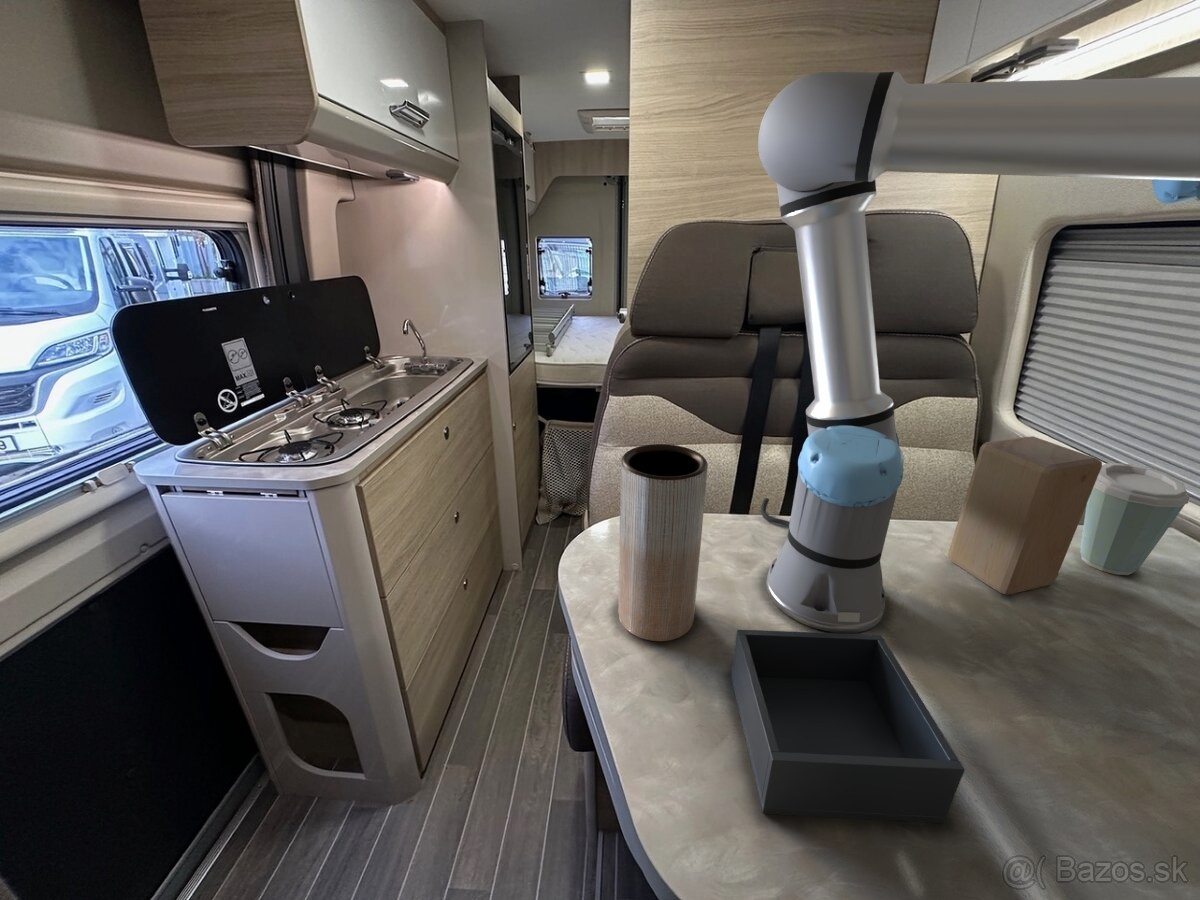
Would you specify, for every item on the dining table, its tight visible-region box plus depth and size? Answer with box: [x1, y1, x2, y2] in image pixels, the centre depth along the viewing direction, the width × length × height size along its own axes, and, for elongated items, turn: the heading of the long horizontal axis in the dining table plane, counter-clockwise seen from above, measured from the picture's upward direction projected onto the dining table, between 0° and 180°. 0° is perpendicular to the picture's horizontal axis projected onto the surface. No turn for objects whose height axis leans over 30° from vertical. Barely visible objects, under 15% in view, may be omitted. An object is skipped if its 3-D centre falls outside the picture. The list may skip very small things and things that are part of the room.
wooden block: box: [947, 436, 1103, 596], centre depth 76 cm, size 10×10×20 cm
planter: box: [617, 443, 708, 642], centre depth 66 cm, size 10×10×23 cm
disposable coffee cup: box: [1079, 462, 1190, 576], centre depth 79 cm, size 11×11×15 cm
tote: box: [730, 629, 965, 824], centre depth 52 cm, size 16×16×7 cm
